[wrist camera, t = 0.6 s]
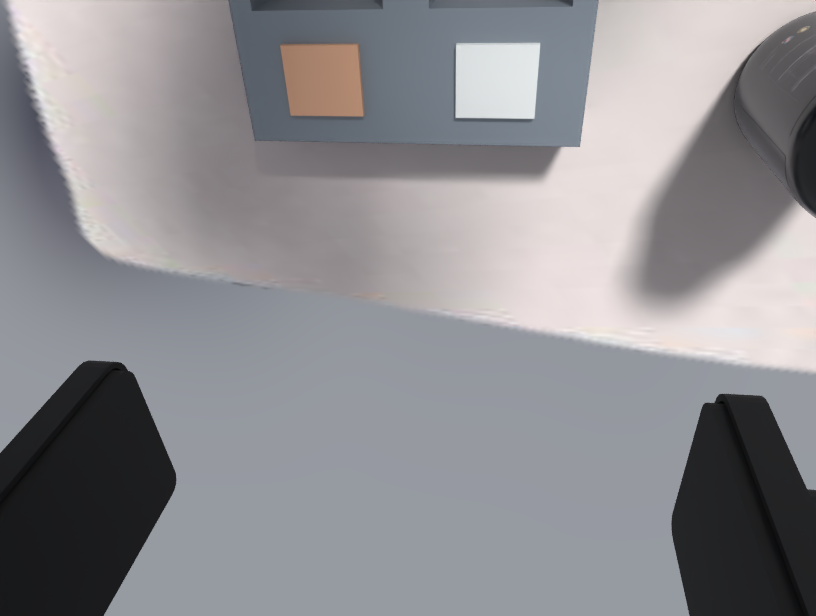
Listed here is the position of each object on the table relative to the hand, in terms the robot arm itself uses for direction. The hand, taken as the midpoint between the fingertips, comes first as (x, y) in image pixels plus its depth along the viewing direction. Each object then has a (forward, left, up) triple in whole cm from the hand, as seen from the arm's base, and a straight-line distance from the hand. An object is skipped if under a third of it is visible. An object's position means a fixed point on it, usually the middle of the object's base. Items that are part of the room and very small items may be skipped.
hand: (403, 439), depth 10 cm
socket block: (-4, -3, -25) cm, 26 cm away
